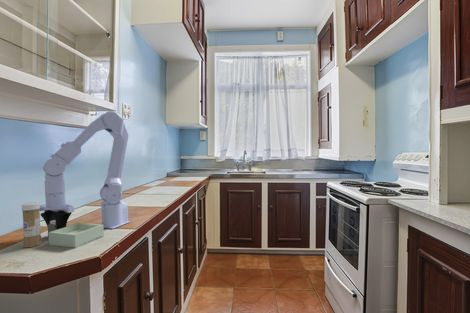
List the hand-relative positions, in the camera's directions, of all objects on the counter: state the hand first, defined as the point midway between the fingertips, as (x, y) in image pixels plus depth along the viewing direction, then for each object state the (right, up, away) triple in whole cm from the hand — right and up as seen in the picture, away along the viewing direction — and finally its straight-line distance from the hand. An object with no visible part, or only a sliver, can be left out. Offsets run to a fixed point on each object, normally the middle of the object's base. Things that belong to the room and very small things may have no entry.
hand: (57, 231), depth 94 cm
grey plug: (0, -1, 0) cm, 1 cm away
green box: (+10, -1, -5) cm, 12 cm away
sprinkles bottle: (-2, -2, -9) cm, 9 cm away
